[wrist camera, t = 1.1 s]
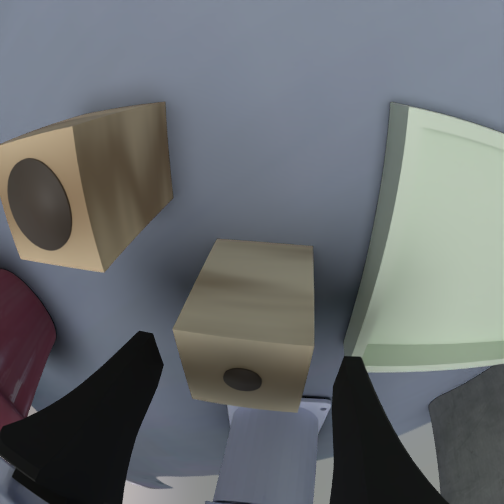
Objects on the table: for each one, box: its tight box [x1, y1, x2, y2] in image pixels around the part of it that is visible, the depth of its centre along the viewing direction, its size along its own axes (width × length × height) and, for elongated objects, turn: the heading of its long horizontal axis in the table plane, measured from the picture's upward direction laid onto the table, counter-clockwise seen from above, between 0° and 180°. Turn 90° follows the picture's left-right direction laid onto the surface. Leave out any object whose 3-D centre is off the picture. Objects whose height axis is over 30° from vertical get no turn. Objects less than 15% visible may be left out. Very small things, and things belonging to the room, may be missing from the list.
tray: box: [343, 102, 504, 372], centre depth 11 cm, size 13×13×2 cm
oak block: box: [0, 102, 173, 272], centre depth 10 cm, size 4×4×6 cm
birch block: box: [173, 239, 314, 413], centre depth 13 cm, size 4×4×6 cm
